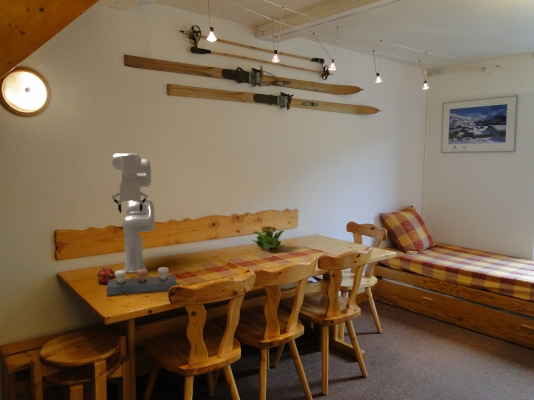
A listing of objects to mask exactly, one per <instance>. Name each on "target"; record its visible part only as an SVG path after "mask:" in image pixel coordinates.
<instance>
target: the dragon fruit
mask: <svg viewBox="0 0 534 400" xmlns="http://www.w3.org/2000/svg"><path fill="white" fill-rule="evenodd" d="M96 275H97V276H96V277H98V278H97V280H98V282H100V283H102V284H105V285H106V284H107V285H108V281H109V280H116V279H117V277H115V271H114V270H113V268H111V267H108V266H104V267H101V268H100V269H99V271H98V272H97V274H96Z"/></svg>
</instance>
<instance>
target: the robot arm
mask: <svg viewBox="0 0 534 400" xmlns="http://www.w3.org/2000/svg"><path fill="white" fill-rule="evenodd" d="M111 163H112V166H113V168H114V169H115V170H118V171H120V172H121V173H120V174H121V176H120V182H119V189H118V190H119V191H118V193H116V194H114V195H112V196H111V198H112V200H113V201H114V203H115V204H116V205H117V210H118V212H119V214H120V213H122V202H124V203H125V208H124V209H125V214H126V216H124V217H123V218H122V229H123V234H124V235H123V236H124V255H125V256H124V257H125V260H124V262H125V266H124V267H123V268H122V270H125V271H126V274H127V273H128V274H129V273H130V274H132V273H134V274H135V273H136V274H137V270H138V269H147V268H146V266H145V265H144V254H143V251H144V250H143V238H142V237H141V235H140V234H139V233H141V232H145V233H146V232H152V231H154V229H155V225H156V223H155V222H156V219H155V206H154V203H153V201H151V200H148V197H149V195H148V194H146V193H144V192H141V188H146V187H150V186H151V184H152V167H151V166H152V165H151V162H150V160H149V159H148V158H142V157H141V156H140V155H139V154H138V153H131V152H130V153H124V152H122V153H119V152H118V153H114V154H113V155H112V156H111ZM141 196H142V197H144V198H143V199H141V198H142V197H141ZM117 197H119V200H118V199H117Z"/></svg>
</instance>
